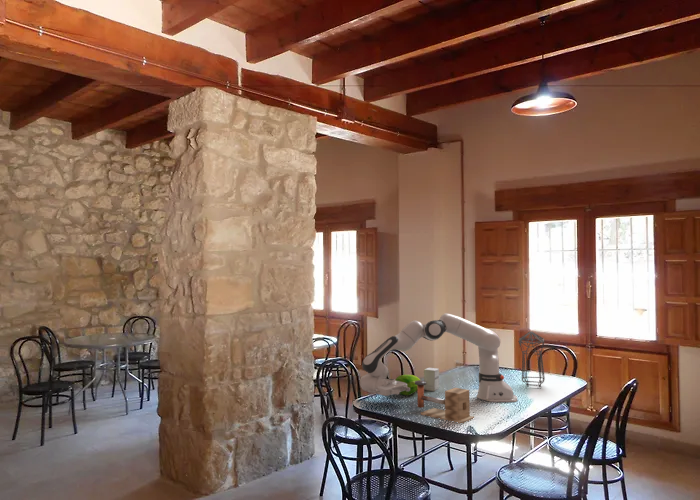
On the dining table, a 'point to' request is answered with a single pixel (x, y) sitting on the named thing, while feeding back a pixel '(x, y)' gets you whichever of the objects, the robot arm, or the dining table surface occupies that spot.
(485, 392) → the robot arm
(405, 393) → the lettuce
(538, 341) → the geometric lantern
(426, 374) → the supplement box
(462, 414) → the light wood block structure
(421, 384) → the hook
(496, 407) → the dining table surface
